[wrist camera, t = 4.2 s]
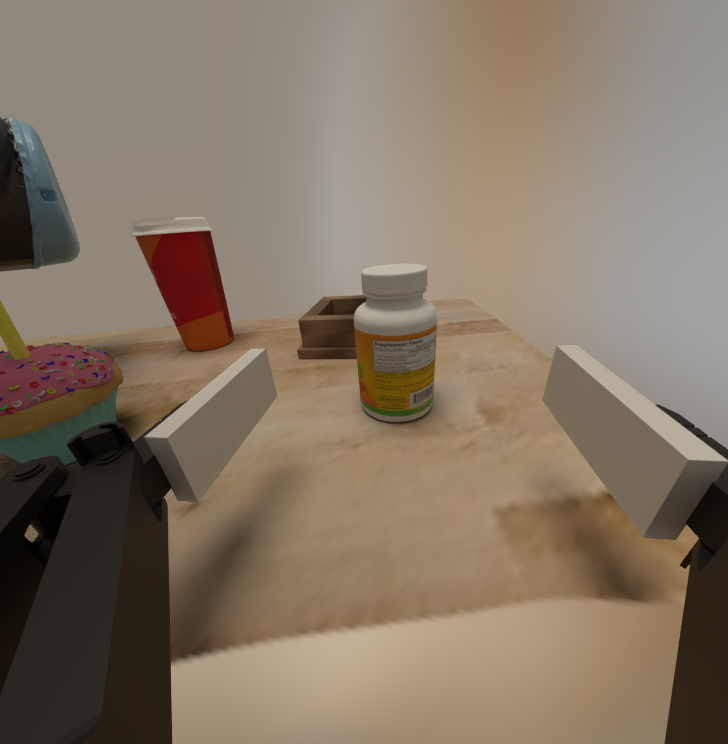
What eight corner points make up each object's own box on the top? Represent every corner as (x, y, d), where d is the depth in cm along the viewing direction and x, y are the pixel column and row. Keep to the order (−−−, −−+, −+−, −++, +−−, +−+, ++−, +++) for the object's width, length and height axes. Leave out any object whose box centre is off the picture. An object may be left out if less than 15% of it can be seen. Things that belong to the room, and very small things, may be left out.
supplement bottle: (366, 384, 25) (357, 264, 20) (431, 385, 24) (436, 260, 19) (355, 423, 20) (340, 278, 16) (435, 426, 19) (443, 273, 15)
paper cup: (205, 332, 41) (168, 221, 35) (253, 332, 40) (224, 216, 33) (160, 355, 34) (104, 222, 28) (216, 356, 33) (170, 216, 26)
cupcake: (172, 417, 22) (95, 249, 17) (35, 512, 15) (-175, 274, 10) (96, 405, 25) (7, 255, 19) (-53, 482, 18) (-260, 279, 12)
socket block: (298, 358, 31) (291, 322, 29) (324, 325, 40) (321, 296, 38) (404, 357, 29) (404, 319, 27) (405, 323, 39) (404, 292, 37)
